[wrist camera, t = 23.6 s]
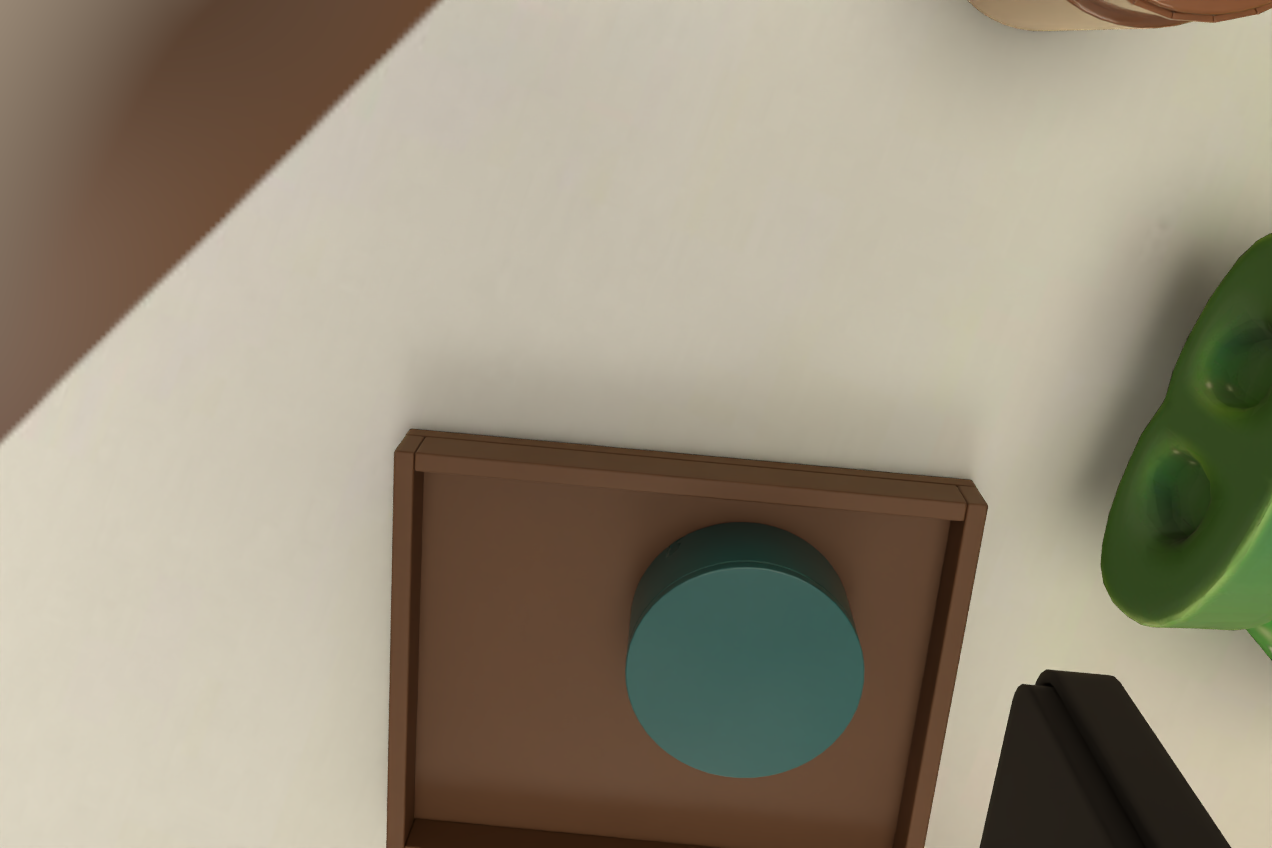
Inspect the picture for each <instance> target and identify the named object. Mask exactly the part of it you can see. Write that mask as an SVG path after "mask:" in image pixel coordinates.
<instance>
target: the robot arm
mask: <svg viewBox="0 0 1272 848" xmlns="http://www.w3.org/2000/svg"><path fill="white" fill-rule="evenodd" d="M980 848H1231V847H1230V845H1229V844H1228V842H1227V841H1226V839H1225V838H1224V836H1223V835H1222V833H1221V832H1220V830H1219V829H1218V827H1217V826H1216V824H1215V823H1214V821H1213V820H1212V818H1211V817H1210V815H1209V814H1208V812H1207V811H1206V809H1205V808H1204V806H1203V805H1202V803H1201V802H1200V801H1199V799H1198V798H1197V796H1196V795H1195V793H1194V792H1193V790H1192V789H1191V787H1190V786H1189V784H1188V783H1187V781H1186V780H1185V778H1184V777H1183V775H1182V774H1181V772H1180V771H1179V769H1178V768H1177V766H1176V765H1175V763H1174V762H1173V760H1172V759H1171V757H1170V756H1169V754H1168V753H1167V751H1166V750H1165V748H1164V747H1163V745H1162V744H1161V742H1160V741H1159V739H1158V738H1157V736H1156V735H1155V733H1154V732H1153V731H1152V729H1151V728H1150V726H1149V725H1148V723H1147V722H1146V720H1145V719H1144V717H1143V716H1142V714H1141V713H1140V711H1139V710H1138V708H1137V707H1136V705H1135V704H1134V702H1133V701H1132V699H1131V698H1130V696H1129V695H1128V693H1127V692H1126V690H1125V689H1124V687H1123V686H1122V684H1121V683H1120V682H1119V681H1118V680H1117V679H1116V678H1115V677H1114V676H1110V675H1101V674H1090V673H1079V672H1068V671H1057V670H1045V671H1044V672H1042V673H1041V674H1040V676H1039V678H1038V679H1037V681H1036V684H1035V685H1026V684H1022V685H1020V686H1019V687H1018V688H1017V690H1016V692H1015V694H1014V697H1013V701H1012V705H1011V709H1010V714H1009V718H1008V723H1007V727H1006V732H1005V736H1004V741H1003V745H1002V750H1001V754H1000V759H999V763H998V768H997V772H996V777H995V781H994V786H993V790H992V795H991V799H990V803H989V808H988V812H987V817H986V821H985V826H984V830H983V835H982V839H981V844H980Z"/></svg>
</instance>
